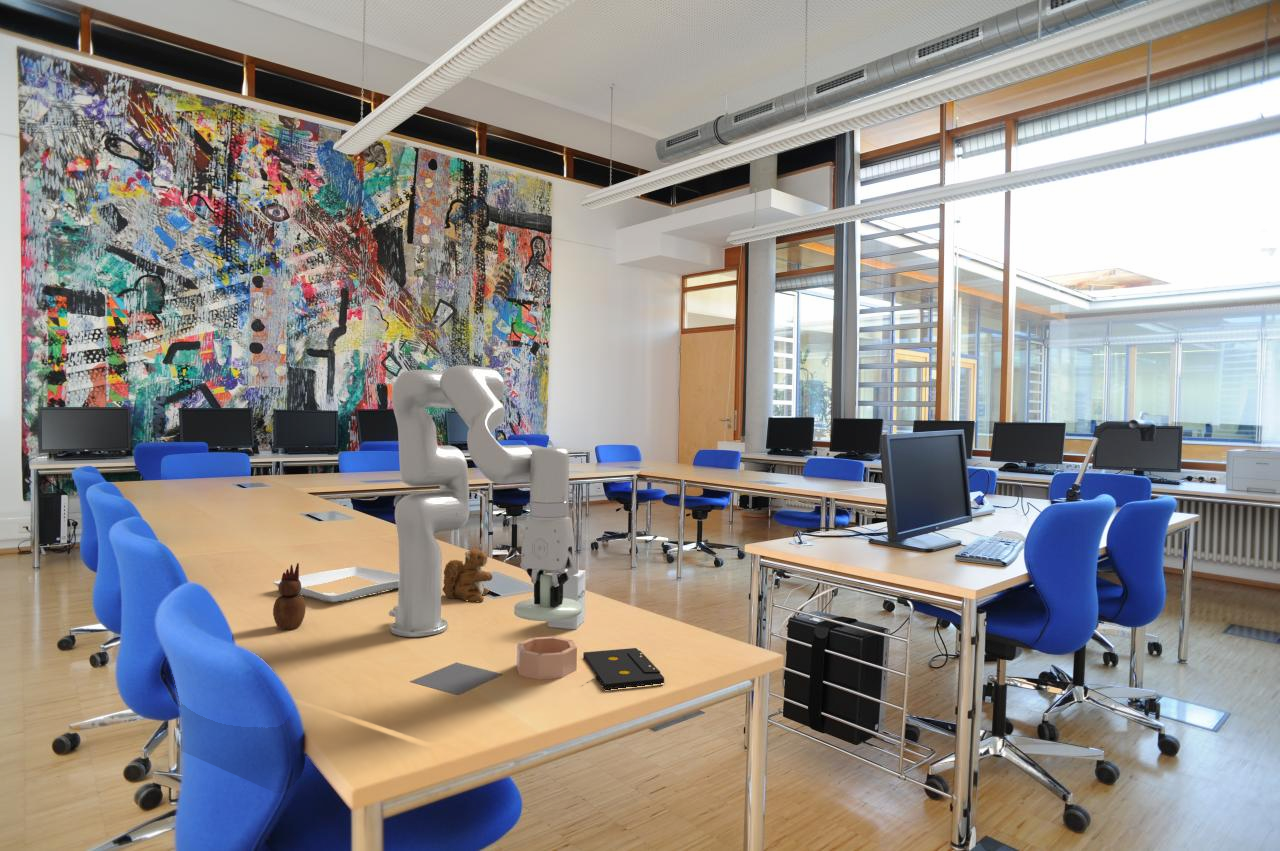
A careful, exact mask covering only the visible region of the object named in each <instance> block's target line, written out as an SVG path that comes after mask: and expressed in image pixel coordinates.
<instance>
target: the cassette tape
mask: <svg viewBox="0 0 1280 851" xmlns="http://www.w3.org/2000/svg"><path fill="white" fill-rule="evenodd" d="M582 656H583V660H585V661H586V663H587V664H588V666H590V668H591V669H592V671H593V672H594V674H595V675H596V676H595V679H596V680H597V682H598V683H599V685H600V686H601V685H602V686H603V687H602V686H601V687H602V688H604V689H605V690H611V689H618V688H626V687H637V686H645V685H653V684H661V683H664V684H665V677H664V676H663V675H662V673H661V671H660V670H659V669H658V668H657V667H656V666H655V665H654V663H653V662H652V661H650V659H649V658H648V657H647V656H646V655H645V654H644V653H643V652H642V651H641V650H639V649H638V648H637V647H631V648H619V649H617V648H616V649H608V650H605V649H604V650H596V651H594V650H593V651H585V652H583V655H582ZM604 689H603V690H604ZM605 690H604V691H605Z"/></svg>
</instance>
